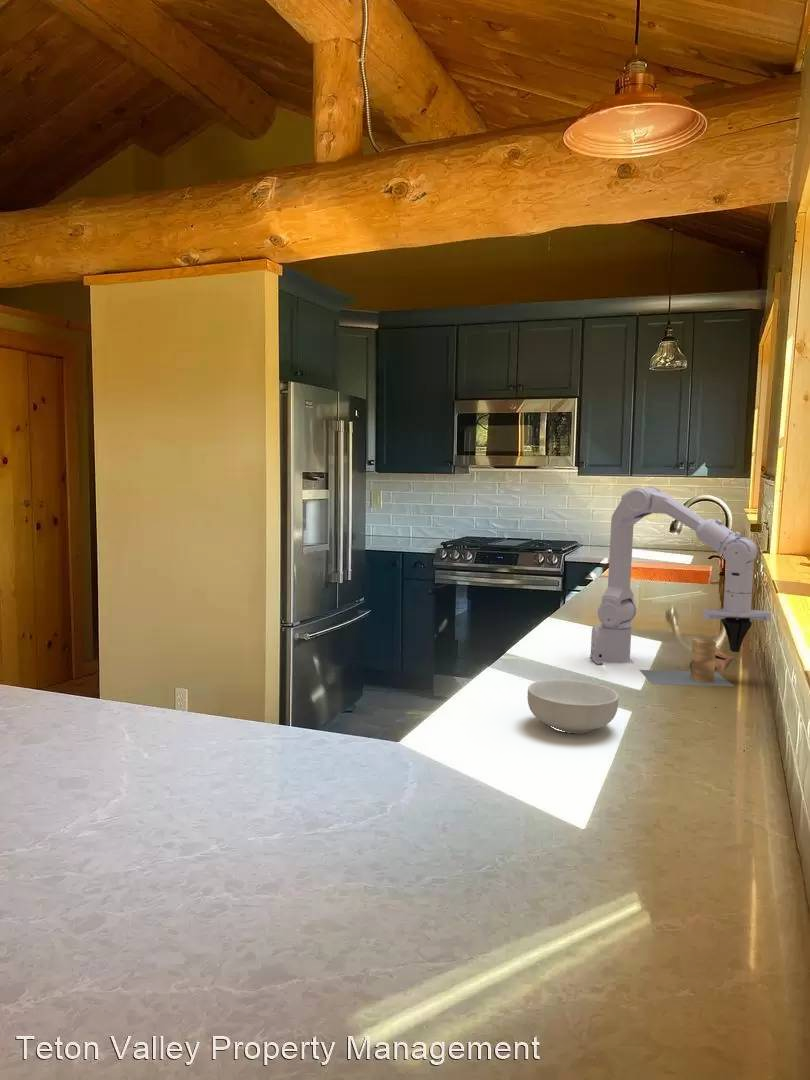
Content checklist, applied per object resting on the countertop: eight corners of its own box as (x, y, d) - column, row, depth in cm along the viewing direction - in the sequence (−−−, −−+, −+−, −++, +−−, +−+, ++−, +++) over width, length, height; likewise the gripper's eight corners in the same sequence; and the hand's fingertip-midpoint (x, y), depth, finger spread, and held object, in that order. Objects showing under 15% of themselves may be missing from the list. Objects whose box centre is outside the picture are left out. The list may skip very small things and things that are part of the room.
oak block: (695, 681, 181) (698, 642, 180) (690, 676, 185) (692, 638, 184) (713, 682, 180) (716, 642, 179) (707, 677, 184) (710, 638, 183)
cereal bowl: (619, 746, 140) (621, 707, 140) (524, 738, 144) (525, 700, 143) (614, 716, 157) (616, 681, 156) (528, 709, 160) (529, 675, 159)
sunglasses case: (727, 675, 189) (713, 649, 190) (699, 686, 192) (685, 660, 193) (735, 659, 204) (722, 635, 205) (710, 669, 208) (697, 646, 209)
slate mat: (652, 686, 178) (652, 683, 178) (638, 672, 190) (638, 669, 190) (734, 688, 177) (734, 686, 177) (715, 674, 189) (715, 671, 189)
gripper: (711, 593, 176) (707, 654, 178) (778, 595, 176) (774, 656, 177) (701, 588, 183) (697, 646, 185) (765, 590, 183) (761, 648, 184)
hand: (734, 650), depth 181 cm, fingers closed
